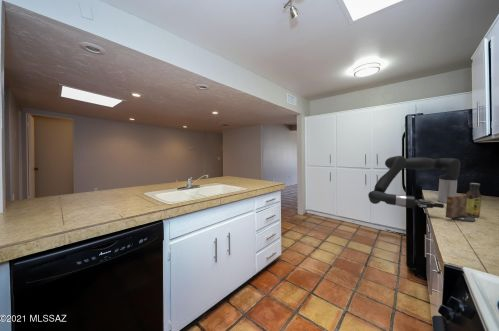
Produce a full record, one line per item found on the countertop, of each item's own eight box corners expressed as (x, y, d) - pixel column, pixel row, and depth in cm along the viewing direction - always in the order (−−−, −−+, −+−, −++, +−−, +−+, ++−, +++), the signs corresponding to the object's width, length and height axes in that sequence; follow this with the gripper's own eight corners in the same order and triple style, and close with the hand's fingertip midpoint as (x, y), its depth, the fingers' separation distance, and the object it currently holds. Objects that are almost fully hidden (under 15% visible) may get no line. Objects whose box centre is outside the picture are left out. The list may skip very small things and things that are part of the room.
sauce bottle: (475, 218, 109) (478, 184, 107) (461, 214, 115) (463, 182, 113) (482, 216, 110) (485, 184, 109) (467, 213, 116) (470, 182, 115)
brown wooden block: (458, 213, 111) (459, 194, 110) (468, 216, 107) (470, 195, 106) (442, 216, 108) (444, 196, 107) (452, 218, 104) (454, 197, 103)
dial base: (445, 213, 117) (445, 211, 116) (472, 217, 109) (472, 215, 109) (448, 219, 108) (448, 216, 108) (477, 223, 101) (478, 221, 101)
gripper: (405, 197, 115) (445, 202, 103) (405, 193, 125) (442, 197, 113) (404, 209, 115) (444, 215, 104) (404, 204, 125) (441, 209, 114)
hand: (443, 206), depth 109 cm, fingers closed
